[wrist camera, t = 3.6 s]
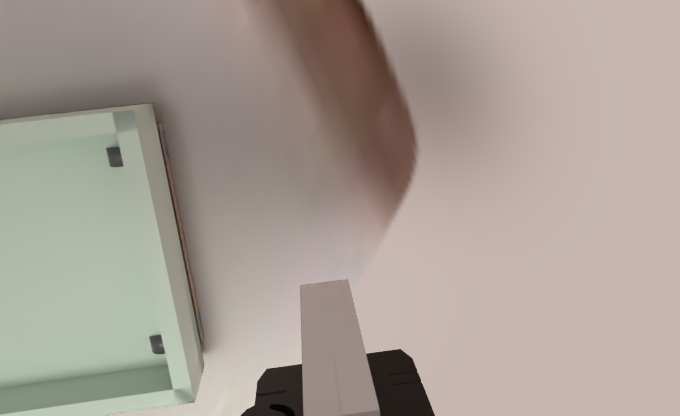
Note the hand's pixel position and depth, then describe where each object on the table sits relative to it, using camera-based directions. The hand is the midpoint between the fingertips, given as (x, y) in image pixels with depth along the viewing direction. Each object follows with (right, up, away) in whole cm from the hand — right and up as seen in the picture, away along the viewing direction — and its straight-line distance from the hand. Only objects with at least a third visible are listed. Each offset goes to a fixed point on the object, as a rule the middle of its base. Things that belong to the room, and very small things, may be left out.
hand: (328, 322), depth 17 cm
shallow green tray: (-14, +1, +9) cm, 16 cm away
